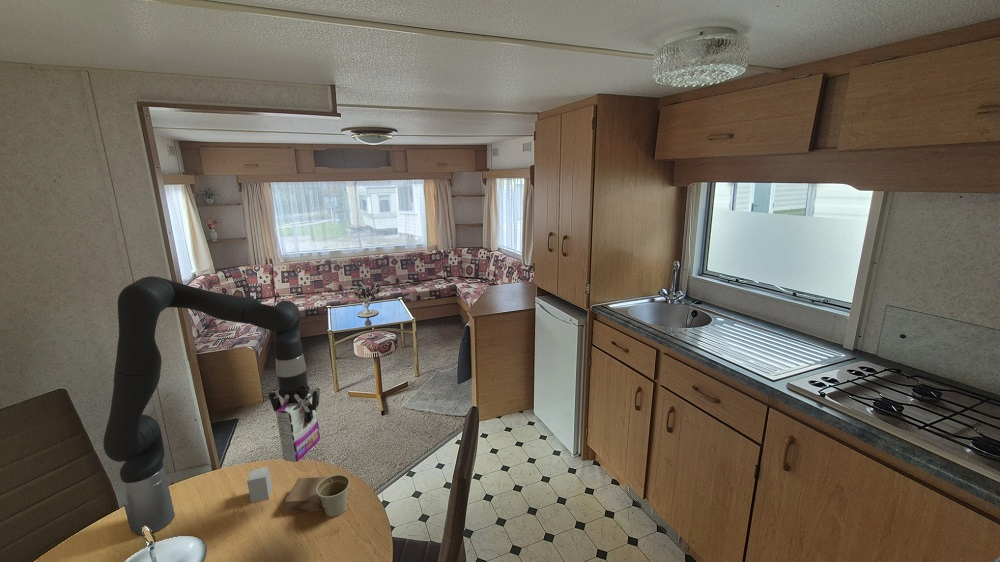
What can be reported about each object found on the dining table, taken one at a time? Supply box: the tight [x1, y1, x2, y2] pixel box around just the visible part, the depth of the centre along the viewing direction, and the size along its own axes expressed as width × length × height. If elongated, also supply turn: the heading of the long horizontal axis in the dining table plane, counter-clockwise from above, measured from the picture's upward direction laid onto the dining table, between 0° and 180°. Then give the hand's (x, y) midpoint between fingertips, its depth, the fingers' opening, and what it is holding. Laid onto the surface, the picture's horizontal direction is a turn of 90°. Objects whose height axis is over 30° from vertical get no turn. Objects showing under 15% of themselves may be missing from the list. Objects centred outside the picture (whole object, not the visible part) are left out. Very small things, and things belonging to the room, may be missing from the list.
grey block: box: [246, 466, 273, 504], centre depth 131 cm, size 5×5×8 cm
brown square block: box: [284, 476, 328, 514], centre depth 130 cm, size 10×10×4 cm
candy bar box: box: [275, 393, 321, 463], centre depth 124 cm, size 11×5×16 cm, turn 168°
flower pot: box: [316, 474, 351, 518], centre depth 125 cm, size 9×9×9 cm
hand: (298, 421), depth 123 cm, fingers closed on candy bar box, 5 cm apart
